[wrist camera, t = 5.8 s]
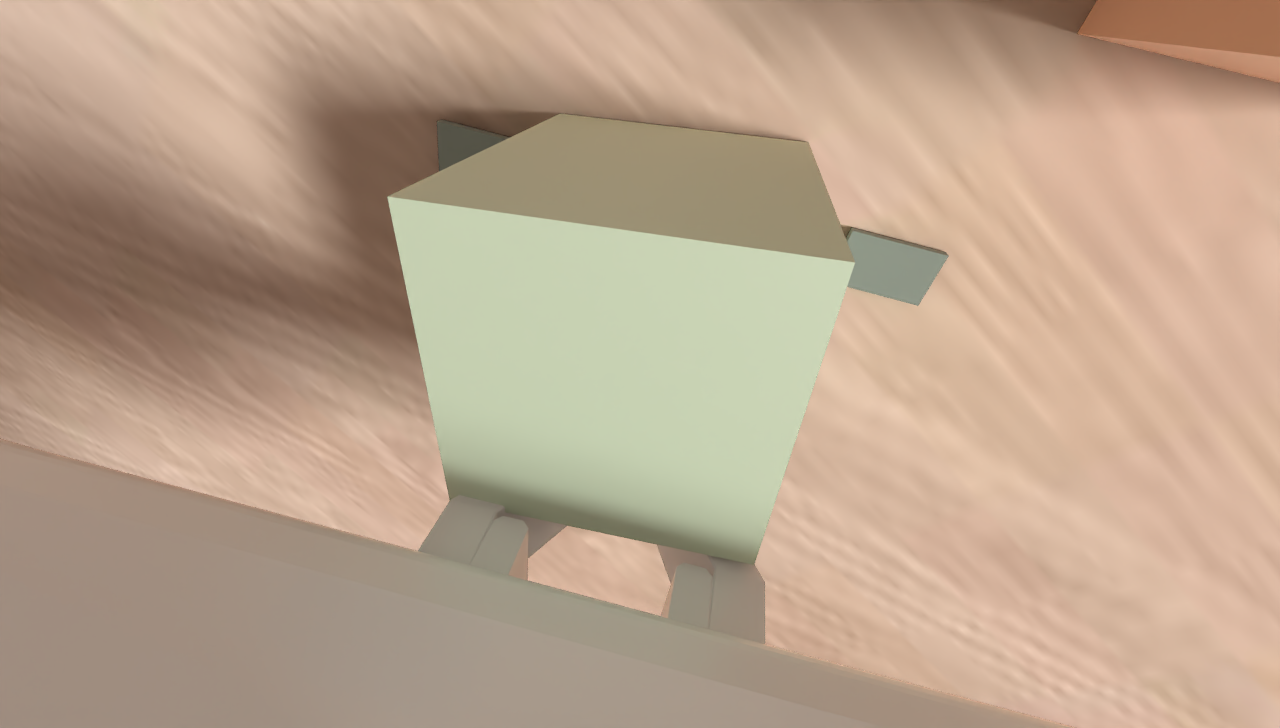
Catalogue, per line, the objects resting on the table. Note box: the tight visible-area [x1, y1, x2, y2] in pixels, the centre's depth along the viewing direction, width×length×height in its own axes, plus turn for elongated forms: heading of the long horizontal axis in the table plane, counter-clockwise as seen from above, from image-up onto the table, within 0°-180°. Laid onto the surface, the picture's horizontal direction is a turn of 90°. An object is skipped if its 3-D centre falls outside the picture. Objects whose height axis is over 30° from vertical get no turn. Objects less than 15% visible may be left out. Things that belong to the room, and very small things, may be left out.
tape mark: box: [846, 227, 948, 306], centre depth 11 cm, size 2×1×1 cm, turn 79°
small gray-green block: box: [437, 119, 510, 171], centre depth 11 cm, size 2×1×1 cm, turn 79°
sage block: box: [387, 113, 855, 565], centre depth 9 cm, size 5×5×6 cm
